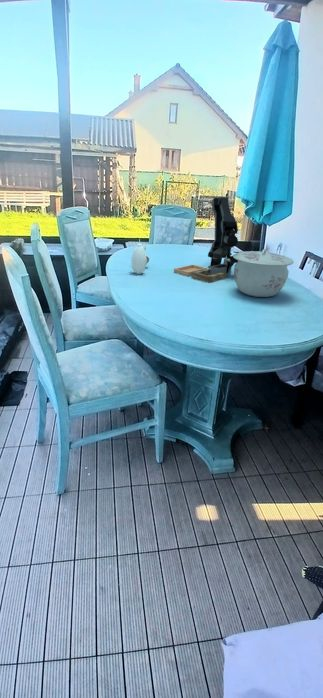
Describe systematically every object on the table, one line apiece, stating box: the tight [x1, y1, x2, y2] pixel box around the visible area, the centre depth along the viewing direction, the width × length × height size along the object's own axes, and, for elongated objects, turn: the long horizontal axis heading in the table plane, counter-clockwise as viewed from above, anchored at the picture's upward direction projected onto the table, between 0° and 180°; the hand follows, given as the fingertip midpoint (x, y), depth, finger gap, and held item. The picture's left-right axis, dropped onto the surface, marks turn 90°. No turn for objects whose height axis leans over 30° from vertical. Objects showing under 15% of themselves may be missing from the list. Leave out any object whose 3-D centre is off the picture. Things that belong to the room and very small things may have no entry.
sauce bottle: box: [130, 238, 148, 275], centre depth 199 cm, size 8×8×18 cm
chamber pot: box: [232, 248, 295, 298], centre depth 177 cm, size 28×28×21 cm
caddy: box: [209, 258, 232, 276], centre depth 207 cm, size 12×6×8 cm, turn 137°
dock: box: [190, 268, 226, 284], centre depth 201 cm, size 15×12×3 cm
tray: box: [173, 264, 208, 277], centre depth 211 cm, size 17×10×2 cm, turn 138°
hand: (222, 272), depth 210 cm, fingers closed on caddy, 5 cm apart
